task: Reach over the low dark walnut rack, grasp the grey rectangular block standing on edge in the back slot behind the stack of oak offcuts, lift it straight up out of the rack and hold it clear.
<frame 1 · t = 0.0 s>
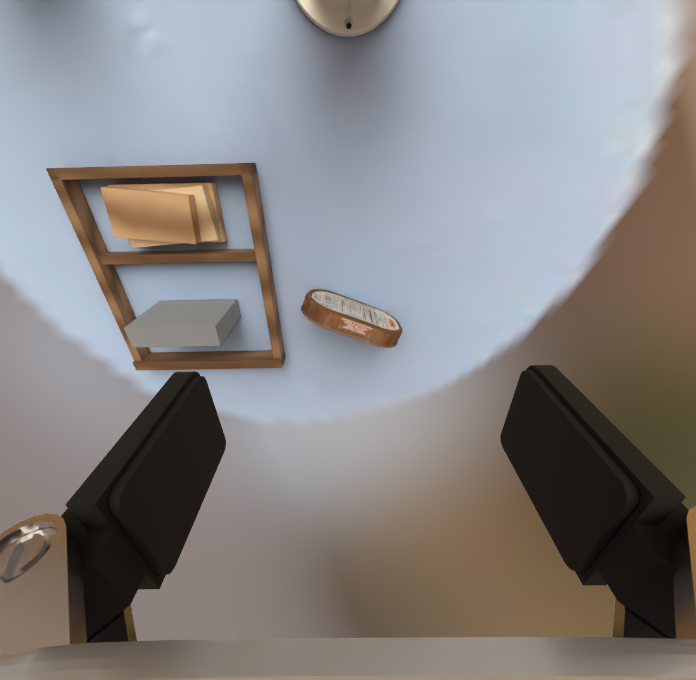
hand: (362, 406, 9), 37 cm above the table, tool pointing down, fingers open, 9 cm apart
offcut stack: (174, 212, 41), resting in rack
tin: (353, 304, 48), on the table
rack: (188, 265, 44), on the table
grey rectangular block: (201, 308, 48), resting in rack
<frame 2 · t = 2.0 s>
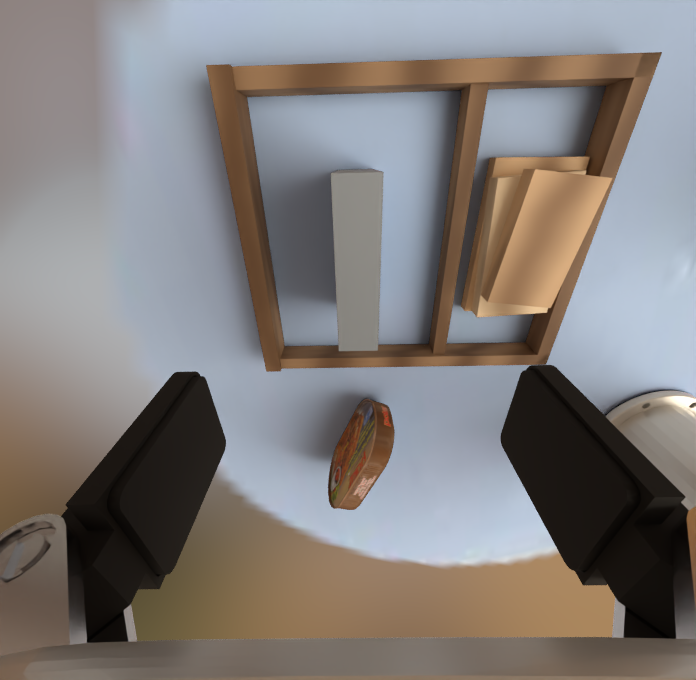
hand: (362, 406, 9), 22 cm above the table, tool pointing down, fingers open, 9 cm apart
offcut stack: (511, 239, 28), resting in rack
tin: (357, 428, 40), on the table
rack: (432, 242, 28), on the table
grey rectangular block: (355, 243, 28), resting in rack
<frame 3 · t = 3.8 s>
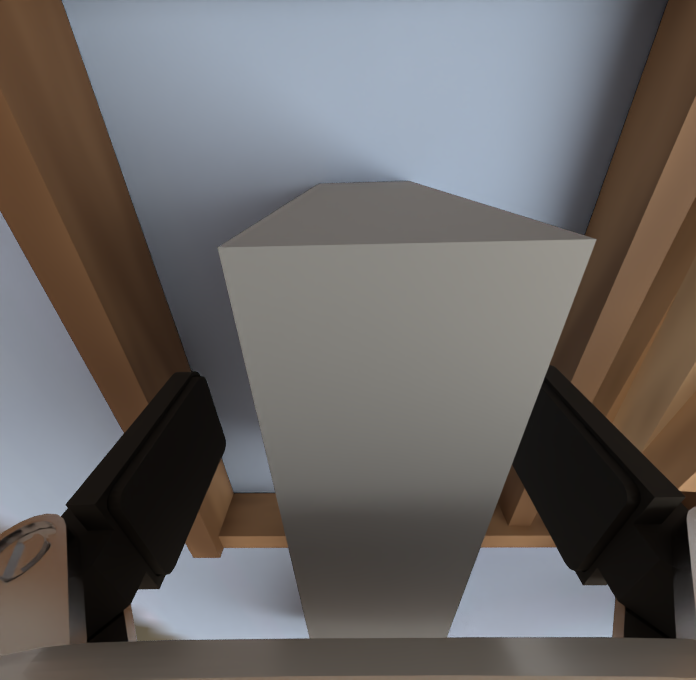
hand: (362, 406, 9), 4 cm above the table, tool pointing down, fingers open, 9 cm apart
rack: (527, 336, 13), on the table
grey rectangular block: (363, 337, 13), resting in rack
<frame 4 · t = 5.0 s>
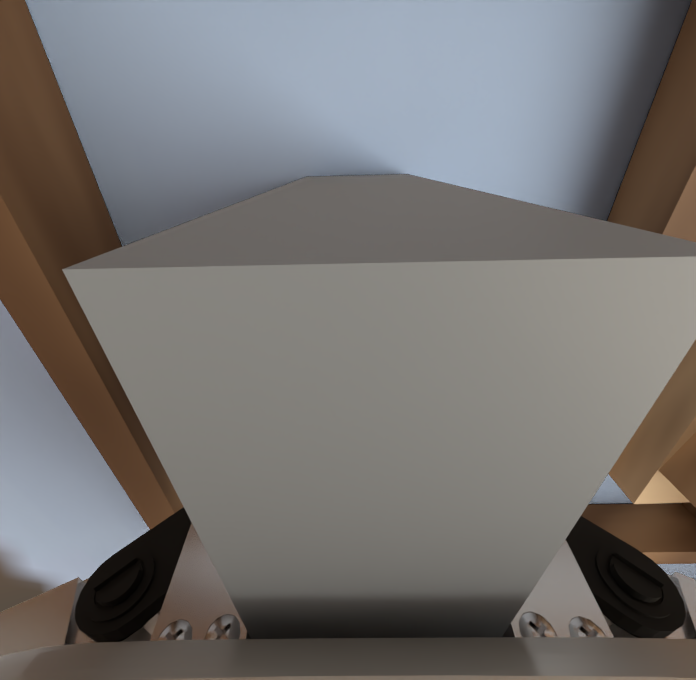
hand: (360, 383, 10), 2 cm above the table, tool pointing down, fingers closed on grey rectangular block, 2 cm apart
rack: (536, 345, 12), on the table
grey rectangular block: (357, 346, 12), resting in rack, touching gripper
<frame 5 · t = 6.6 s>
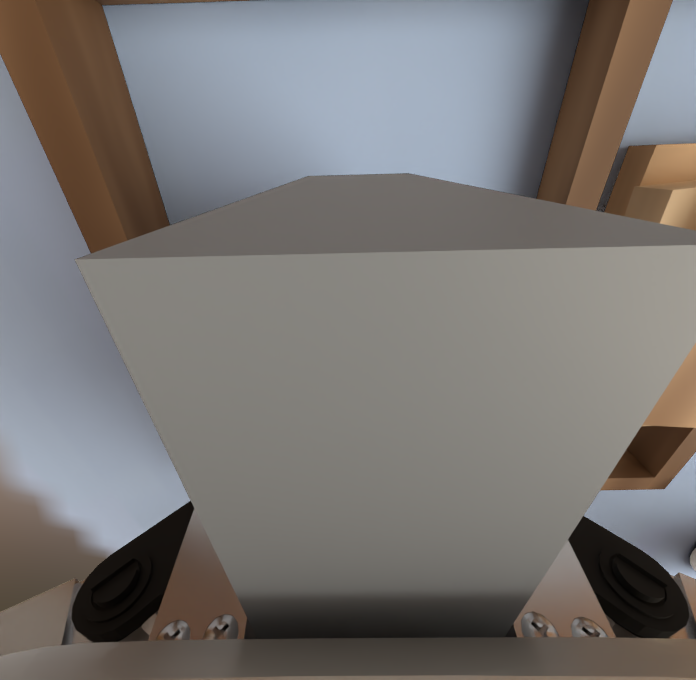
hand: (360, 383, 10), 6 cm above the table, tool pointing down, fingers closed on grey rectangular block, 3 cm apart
offcut stack: (638, 293, 16), resting in rack
rack: (490, 302, 15), on the table
grey rectangular block: (359, 345, 12), point 4 cm above the table, touching gripper
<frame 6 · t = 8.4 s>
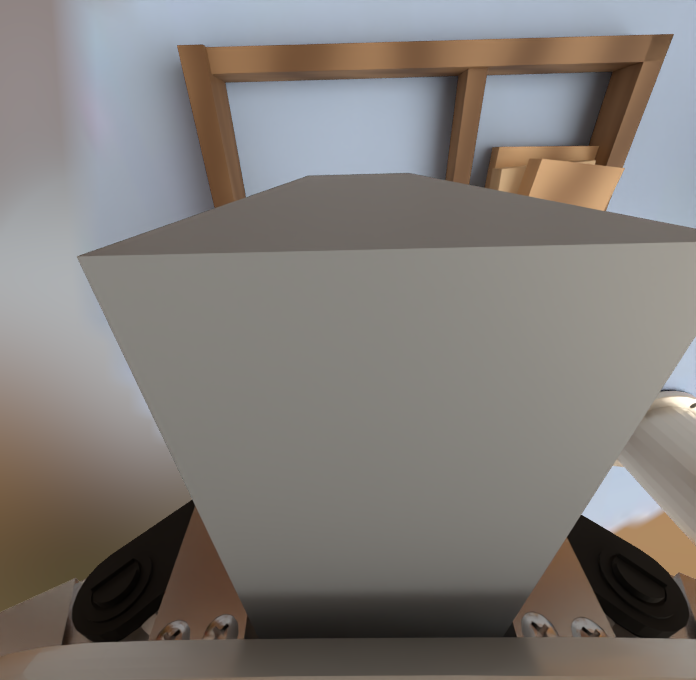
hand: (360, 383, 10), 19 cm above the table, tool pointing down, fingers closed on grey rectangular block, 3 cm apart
offcut stack: (514, 235, 27), resting in rack
rack: (427, 240, 26), on the table
grey rectangular block: (359, 345, 12), point 17 cm above the table, touching gripper
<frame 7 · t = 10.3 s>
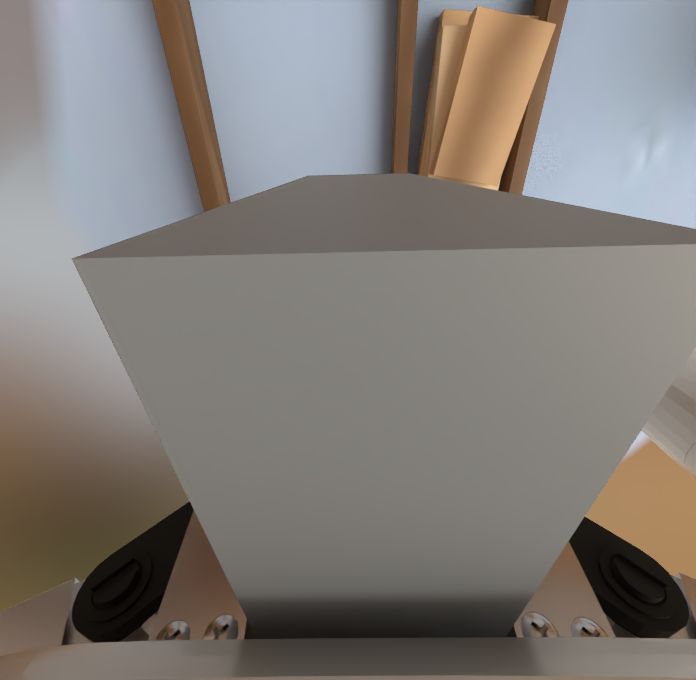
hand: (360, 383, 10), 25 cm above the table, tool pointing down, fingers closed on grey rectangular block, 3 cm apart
offcut stack: (463, 121, 27), resting in rack
rack: (382, 127, 27), on the table
grey rectangular block: (359, 345, 12), point 23 cm above the table, touching gripper
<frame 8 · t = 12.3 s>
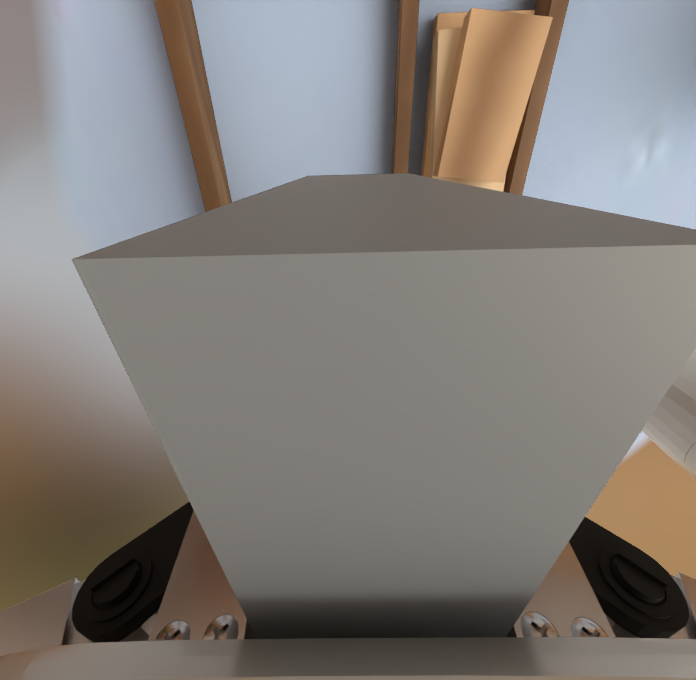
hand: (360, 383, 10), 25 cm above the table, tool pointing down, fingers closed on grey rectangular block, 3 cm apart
offcut stack: (464, 120, 27), resting in rack
rack: (383, 126, 27), on the table
grey rectangular block: (359, 345, 12), point 23 cm above the table, touching gripper
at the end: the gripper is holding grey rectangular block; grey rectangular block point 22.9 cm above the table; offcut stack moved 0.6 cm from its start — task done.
